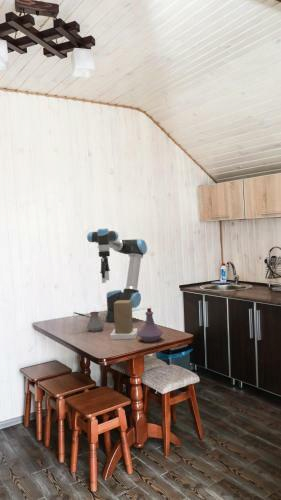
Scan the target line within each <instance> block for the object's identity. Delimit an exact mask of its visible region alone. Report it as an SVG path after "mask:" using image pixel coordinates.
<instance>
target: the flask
mask: <svg viewBox="0 0 281 500" xmlns="http://www.w3.org/2000/svg"><path fill="white" fill-rule="evenodd" d="M146 310H147V311H146V312H145V316H146V318H145V324H144V325H143V327H141V328H140V330H139V331H138V333H137V336H138V337H139V338H140V339H141V340H142V341H143V342H145V343H153V342H157V341H158V340H160V338H161V336H162V335H164V332H163V331H162V330H161V329H160V328H159V327H158V326H157V325H156V323H155V321H154V317H153V315H154V311H152V308H151V307H148V308H147V309H146Z"/></svg>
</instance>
